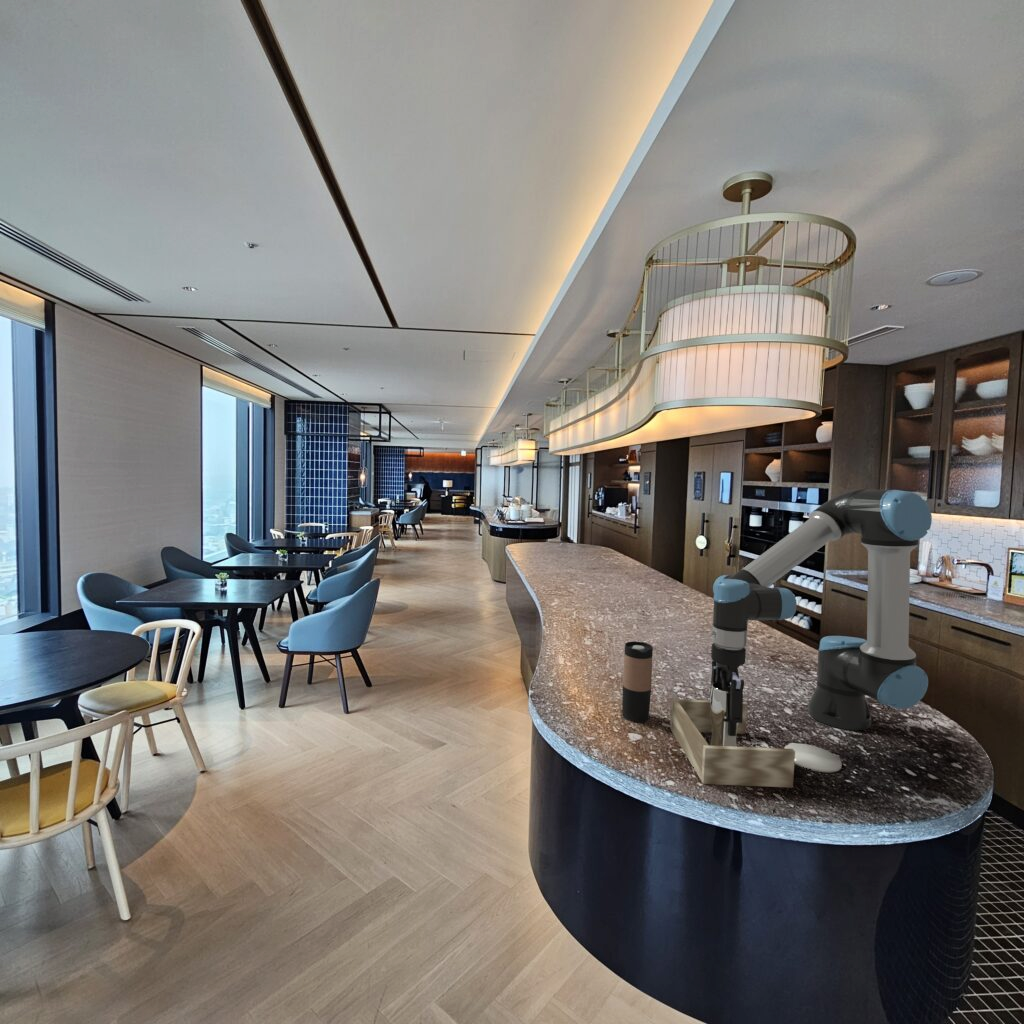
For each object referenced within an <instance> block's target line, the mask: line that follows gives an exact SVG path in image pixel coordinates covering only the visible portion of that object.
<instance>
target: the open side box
mask: <svg viewBox="0 0 1024 1024" xmlns="http://www.w3.org/2000/svg"><path fill="white" fill-rule="evenodd" d="M747 712H748V703H747V702H746V701H743V715H742V723H738V727H737V734H743V735H744V734H745V735H746V732H747V730H746V729H747V714H748V713H747ZM669 728H670V731H671V732H672V735H673V736H674V738H675V739H676V741H677V742H678V744H679V746H680V748H681V749H682V751H683V752H684V754H685V756H686V757H687V759H688V760H689V762H690V764H691V766H692V768H693V767H694V768H693V769H694V771H695V773H696V772H697V773H696V775H698V777H699V779H700V781H701V783H702V784H703V785H717V786H719V785H721V786H722V785H723V786H741V787H742V786H744V787H745V786H746V787H748V786H749V787H770V788H771V787H773V788H794V775H795V773H794V772H795V763H794V762H795V751H794V750H793V749H785V748H781V747H760V746H759V747H758V746H757V747H756V746H755V747H753V746H737V747H734V746H710V744H709V743H708V742H707V741H706V739H705V738H704V736H703V735H702V733H712V722H711V714H710V700H708V699H707V700H706V699H705V700H704V699H701V700H700V699H679V698H674V699H673V698H671V709H670V727H669Z"/></svg>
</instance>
